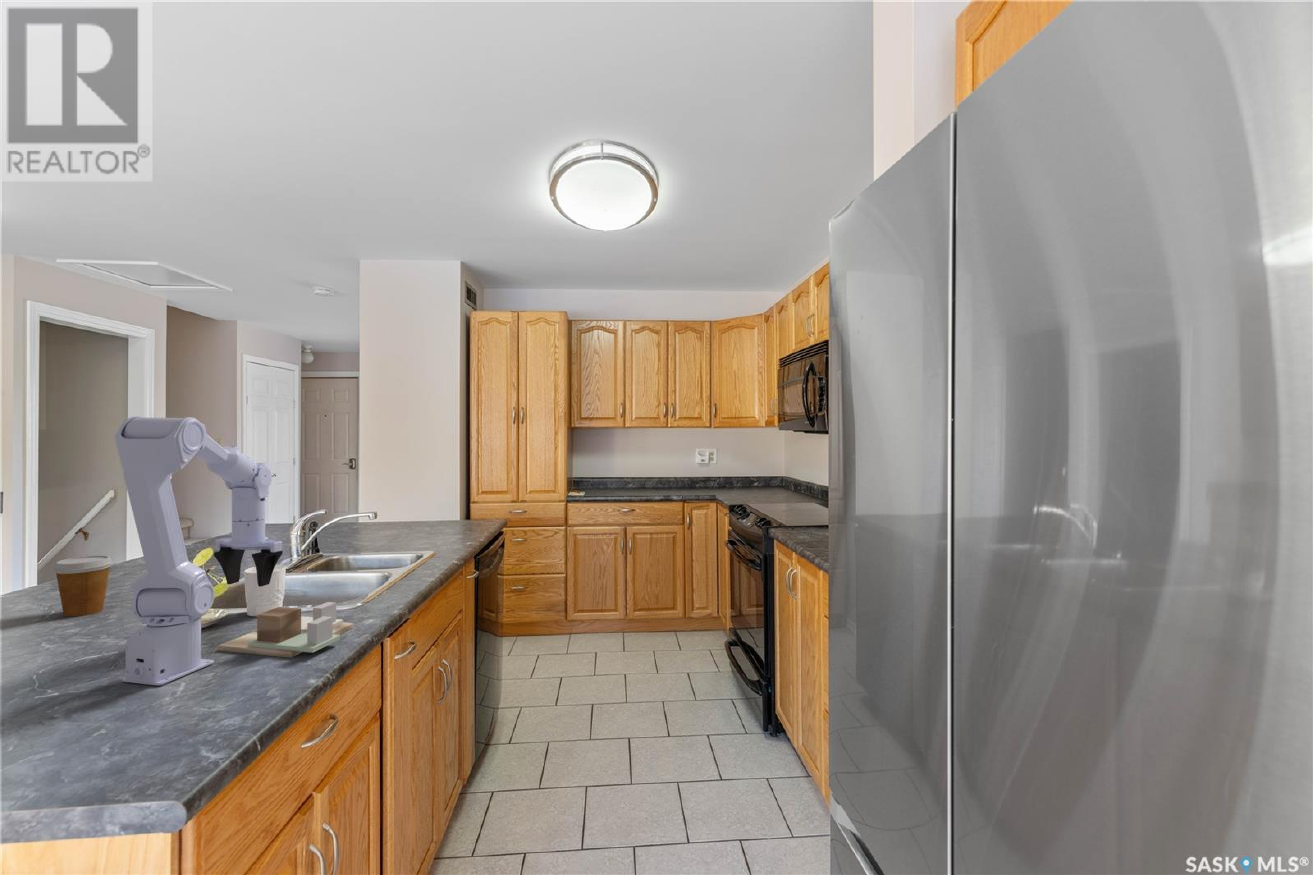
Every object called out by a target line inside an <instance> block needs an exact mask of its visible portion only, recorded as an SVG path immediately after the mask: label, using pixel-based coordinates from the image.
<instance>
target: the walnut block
mask: <svg viewBox="0 0 1313 875" xmlns="http://www.w3.org/2000/svg"><path fill="white" fill-rule="evenodd" d="M301 616H302V608H301V607H290V606H289V607H288V606H283V607H277V608H274V609H272V610H269V611H266V612H263V613H261V614H258V615H257V616H256V621H257V622H256V625H257V626H256V630H257V641H263V642H274V643H281V642H283V641H285V640H288V639H290V638H292V637H295V636H297V635H299V634H301Z"/></svg>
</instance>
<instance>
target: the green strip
mask: <svg viewBox="0 0 1313 875" xmlns="http://www.w3.org/2000/svg"><path fill="white" fill-rule="evenodd" d="M340 640H341V634H340V635H333V617H326V616H323V617H321V618H318V619H316V620H314V621H311V622H309V623H307V632H301V634H299V635H297V636H295V637H292V638H290V639H288V640H285V641H283V642H281V643H274V642H263V641H257V639H255V640H253V641H250V642H248V646H249V647H259V648H270V649H280V650H291V651H301V652H302V653H315V652H317V651H319V650H321V649H324V648H325V647H327V646H329V645H331V644H333V643H336V642H337V641H340Z"/></svg>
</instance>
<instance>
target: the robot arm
mask: <svg viewBox="0 0 1313 875" xmlns="http://www.w3.org/2000/svg"><path fill="white" fill-rule="evenodd" d="M114 440H115V444H116V448H117V453H118V456H119V462H120V466H121V468H122V469H123V478H124V482H125V486H126V491H127V495H128V498H129V503H130V506H131V510H132V515H133V518H134V523H135V527H136V531H137V535H138V539H139V542H140V547H141V551H142V555H143V559H144V562H145V567H146V571H144V572H143V573H141V574H140V575H139V576H138V577H137V578H136V579H135V580H134V581H133V582H132V584H131V588H132V592H133V594H132V601H131V608H132V611H133V612H132V613H133V614H134V615H135V617H136V618H139V619H140V620H141V621H140V623H141V625H145V626H143V627H142V628H141V629H139V630H137V631H134V632H133V633H131V634H130V635H129V636H128V638H127V640H126V643H125V676H124V677H122V678H121V682H122V683H123V682H124V683H131V684H140V685H141V684H143V685H151V686H162V685H165V684H167V683H170V682H172V681H175V680H177V679H179V678H181V677H182V678H183V676H187V675H189V674H191V673H193V672H196V671H198V670H201V669H203V668H205V667H208V666H210V665H212V664H214V663H215V660H214V659H207V658H202V617H204V616H206V614H207V613H208V611H209V610H210V609H211V608H212V606H213V603H214V602H215V589H214V588H215V587H214V586H213V583H212V582H210V580H209V578H208V575H207V572H206V571H205V570H204V569H203V568H201V567H200V566H197V565H196V564H194V563H192V562H190V561H189V557H188V553H187V550H186V543H185V540H184V539H185V538H184V536H183V531H182V527H181V522H180V517H179V512H178V509H177V508H178V507H177V504H176V500H175V495H174V490H173V485H172V481H171V476H173V474H174V473H176V472H178V471H181V470H183V469H184V468H185V466H186V465H187V464H189V462H191V460H192V459H193V457H197V458H199V459H201V460H203V461H205V462H206V467H207V469H208V470H209V472H212V473H213V474H215V475H217V476H218V477H220V478H221V479H222V480H223V482H224V484H225V486H226V488H227V489H228V490H231V537H229V538H228V537H224V538H219V539H218V538H217V539H215V543H214V544H215V549H216V550H219V551H215V552H213V557H214V558H215V560H217V562H218V563H219V566H220V567H221V569H222V572H223V574H224V577H225V581H226V584H227V585H233V584H237V583H239V581H240V578H241V566H242V560H243V557H244V553H245V551H247V550H248V551H258V552H256V553H251V558H252V559H253V562H254V565H255V567H256V570H257V583H258V586H260V587H262V586H265V585H268V584H269V583H270V580H271V576H272V573H273V570H274V568H275V565H277V563H278V562H279V559H280V558H281V557H282V555H283V552H284V551H283V541H281V540H274V539H270V538H269V537H267V536H266V498H267V497H269V496H268V495H269V489H270V486H271V483H272V480H273V479H272V478H273V474H272V472H271V469H270V467H269V466H268V465H266V464H264V463H262V462H255V461H254V460H252V459H251V457H249V456H246V455H245V454H243V453H242V452H240V450H239V448H238V447H237V446H235V445H226V446H221V445H220V444H219V443H218V442H217V441H216V440H214V439H213V438H212V437H211V436H210V435H209V434H208V433H207V428H206V425H205V424H204V423H202V422H200V421H199V420H198V419H197V418H195V417H190V416H189V417H188V416H187V417H143V416H135V415H134V416H131V417H128V418H127V419H125V420H124V421H123V422H122V424H121V425H120V427H119V428H118V430H117V431H116V432H115V434H114Z"/></svg>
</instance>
